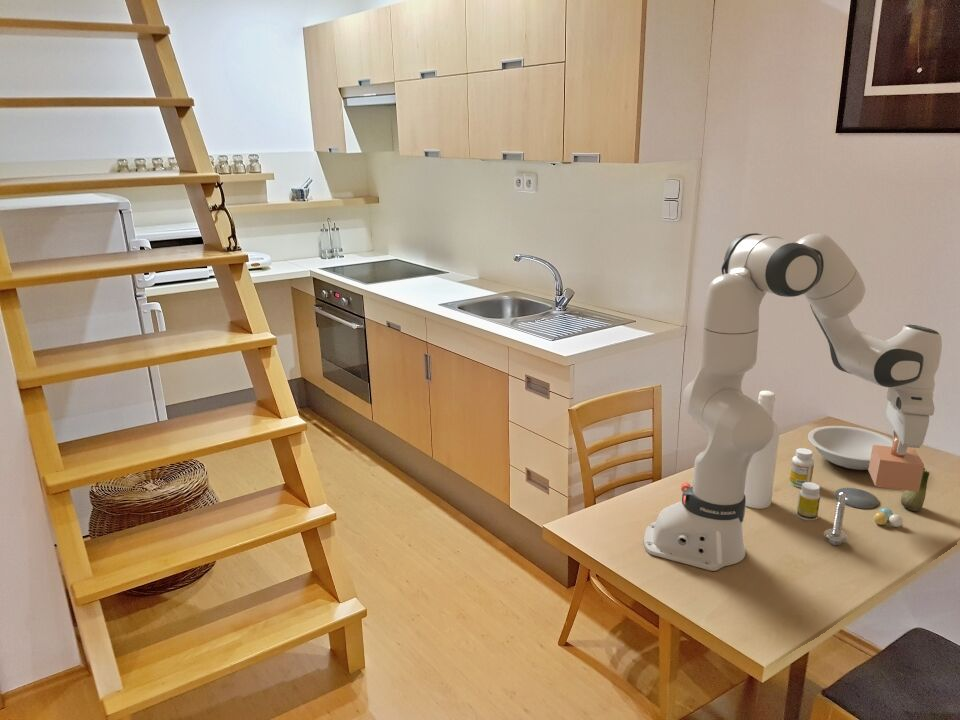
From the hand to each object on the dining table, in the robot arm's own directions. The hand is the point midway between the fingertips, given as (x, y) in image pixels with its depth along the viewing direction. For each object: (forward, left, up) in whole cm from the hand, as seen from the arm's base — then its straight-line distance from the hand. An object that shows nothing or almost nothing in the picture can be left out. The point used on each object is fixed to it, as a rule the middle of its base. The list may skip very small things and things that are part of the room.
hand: (898, 450), depth 167 cm
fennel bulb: (+8, +10, -20) cm, 23 cm away
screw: (-13, -13, -20) cm, 27 cm away
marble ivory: (+2, -1, -20) cm, 20 cm away
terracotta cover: (0, 0, -8) cm, 8 cm away
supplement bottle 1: (-18, +16, -20) cm, 31 cm away
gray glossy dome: (-5, +11, -20) cm, 23 cm away
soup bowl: (-3, +34, -20) cm, 40 cm away
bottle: (-30, +2, -20) cm, 36 cm away
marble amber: (-1, -1, -20) cm, 20 cm away
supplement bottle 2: (-18, -2, -20) cm, 27 cm away
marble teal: (0, +2, -20) cm, 20 cm away
